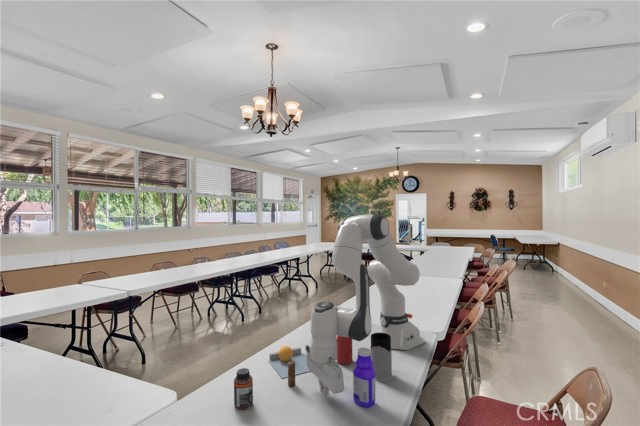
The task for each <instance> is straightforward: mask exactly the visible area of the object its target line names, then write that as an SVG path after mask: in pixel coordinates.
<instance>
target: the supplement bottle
mask: <svg viewBox="0 0 640 426" xmlns="http://www.w3.org/2000/svg"><path fill="white" fill-rule="evenodd" d="M253 383H254V382H253V376H252V375H251V374H250V369H249V368H248V367H247V368H246V367H243V368H239V369H237V371H236V376H235V377H234V380H233V402H234V403H233V405H234V408H235V409H237V410H239V411H240V410H241V411H245V410H248V409H249V408H251V407H252V406H253V404H254V392H253V391H254V387H253V386H254V385H253Z"/></svg>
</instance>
